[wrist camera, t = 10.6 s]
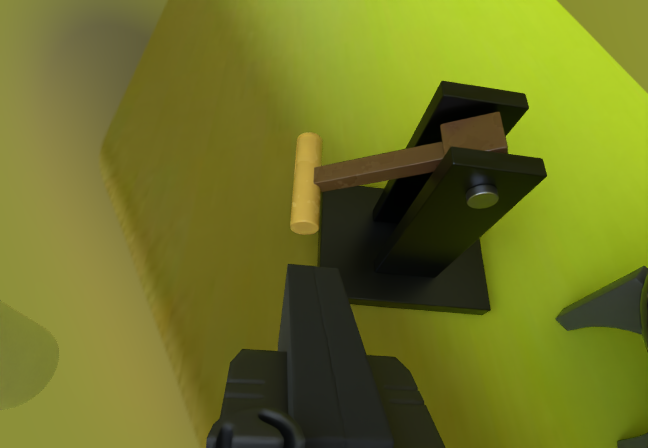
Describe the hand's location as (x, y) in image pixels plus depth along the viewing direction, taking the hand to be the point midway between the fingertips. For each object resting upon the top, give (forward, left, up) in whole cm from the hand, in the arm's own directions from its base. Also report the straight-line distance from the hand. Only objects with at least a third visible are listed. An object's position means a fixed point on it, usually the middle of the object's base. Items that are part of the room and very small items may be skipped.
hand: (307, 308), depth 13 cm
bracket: (+8, +10, -15) cm, 20 cm away
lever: (+5, +10, -6) cm, 13 cm away
